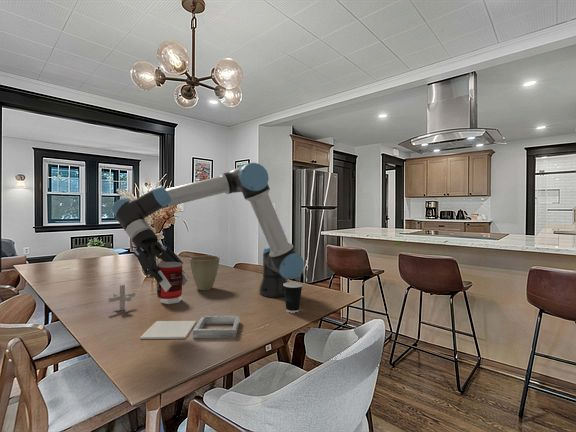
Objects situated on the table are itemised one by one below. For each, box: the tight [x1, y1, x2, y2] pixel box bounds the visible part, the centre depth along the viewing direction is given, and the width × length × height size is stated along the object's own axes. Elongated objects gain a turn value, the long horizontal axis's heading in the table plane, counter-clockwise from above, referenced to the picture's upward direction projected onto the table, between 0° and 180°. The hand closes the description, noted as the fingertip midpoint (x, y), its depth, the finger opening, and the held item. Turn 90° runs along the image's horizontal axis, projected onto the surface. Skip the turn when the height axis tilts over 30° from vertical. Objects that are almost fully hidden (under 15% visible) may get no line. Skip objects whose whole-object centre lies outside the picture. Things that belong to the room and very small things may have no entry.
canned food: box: [156, 261, 183, 300], centre depth 103 cm, size 8×8×11 cm
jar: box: [160, 293, 183, 305], centre depth 136 cm, size 9×8×12 cm
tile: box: [139, 320, 197, 340], centre depth 104 cm, size 14×14×1 cm
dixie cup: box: [283, 281, 304, 314], centre depth 125 cm, size 8×8×11 cm
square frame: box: [192, 315, 241, 339], centre depth 104 cm, size 13×13×2 cm
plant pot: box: [189, 255, 221, 291], centre depth 158 cm, size 15×15×16 cm
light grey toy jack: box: [108, 284, 136, 311], centre depth 124 cm, size 10×10×10 cm
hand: (177, 285), depth 102 cm, fingers closed on canned food, 8 cm apart
